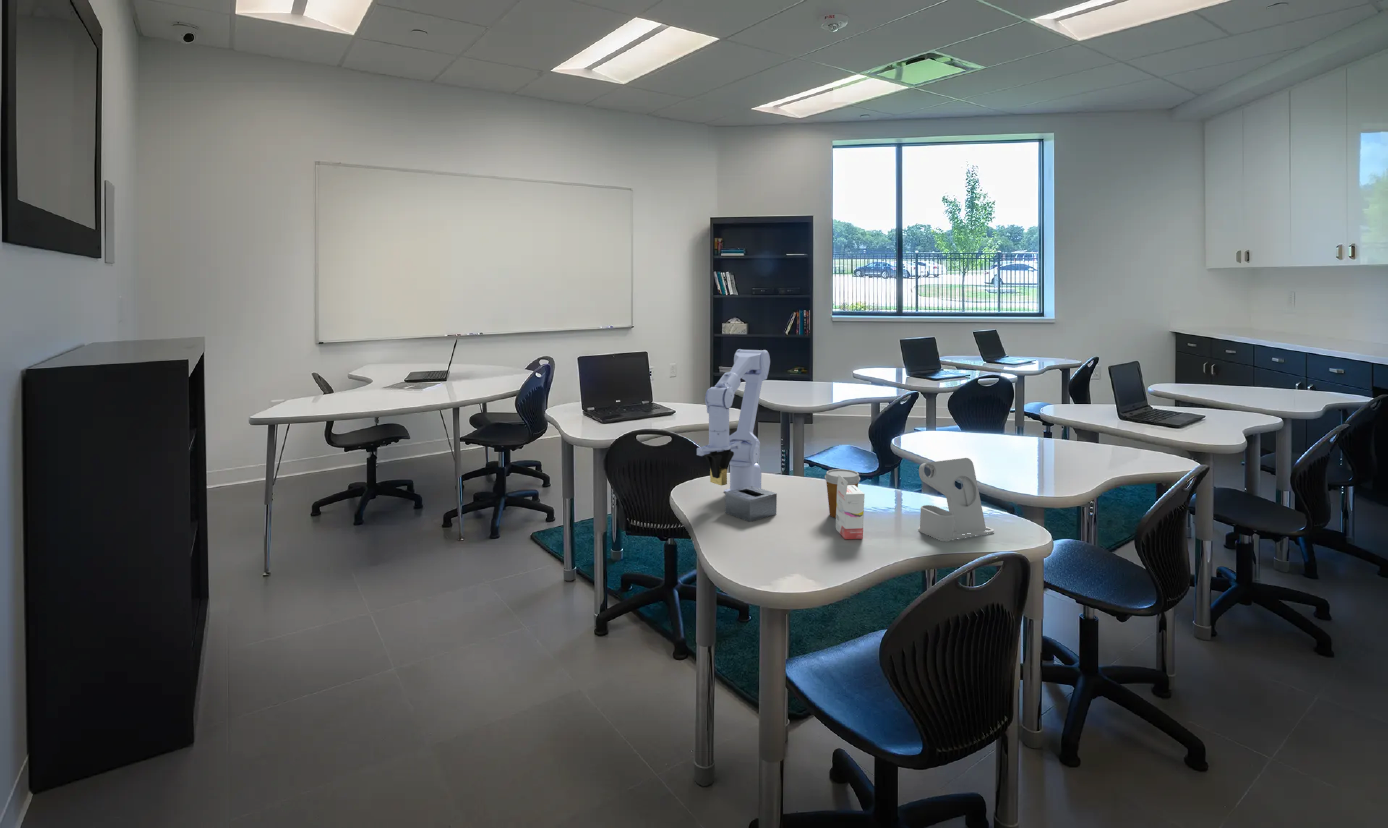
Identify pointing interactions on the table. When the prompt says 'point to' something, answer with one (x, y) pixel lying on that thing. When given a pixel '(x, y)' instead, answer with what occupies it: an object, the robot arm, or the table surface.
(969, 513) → the grey mounting bracket
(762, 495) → the box
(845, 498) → the ink cartridge box
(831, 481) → the disposable coffee cup
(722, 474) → the block
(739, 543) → the table surface
